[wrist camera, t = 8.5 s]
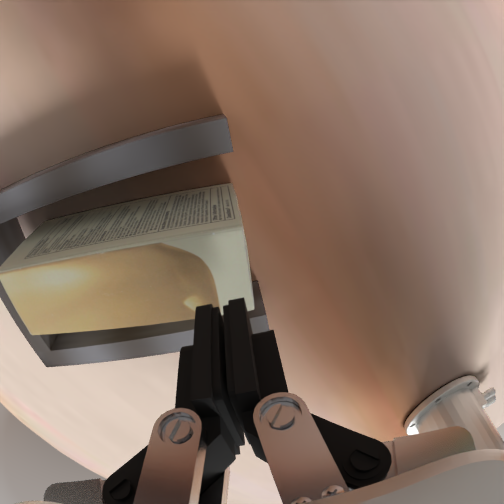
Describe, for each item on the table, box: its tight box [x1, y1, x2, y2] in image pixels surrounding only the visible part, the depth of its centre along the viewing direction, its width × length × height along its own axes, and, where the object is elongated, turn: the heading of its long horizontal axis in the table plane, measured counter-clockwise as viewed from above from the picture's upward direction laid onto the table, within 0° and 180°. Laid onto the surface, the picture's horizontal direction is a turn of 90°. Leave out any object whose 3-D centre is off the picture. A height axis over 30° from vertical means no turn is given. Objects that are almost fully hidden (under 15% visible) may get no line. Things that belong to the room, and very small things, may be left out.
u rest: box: [0, 114, 269, 367], centre depth 16 cm, size 16×12×4 cm
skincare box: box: [0, 183, 254, 335], centre depth 15 cm, size 6×4×12 cm
